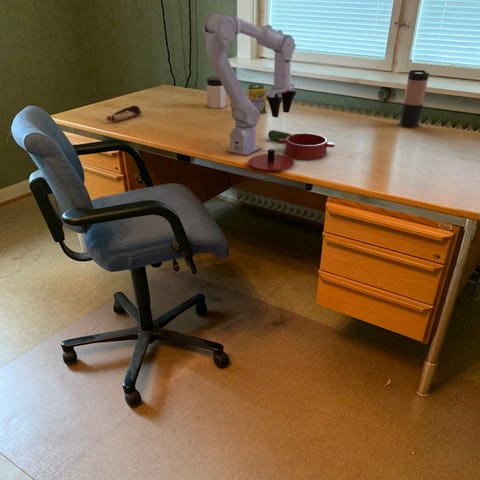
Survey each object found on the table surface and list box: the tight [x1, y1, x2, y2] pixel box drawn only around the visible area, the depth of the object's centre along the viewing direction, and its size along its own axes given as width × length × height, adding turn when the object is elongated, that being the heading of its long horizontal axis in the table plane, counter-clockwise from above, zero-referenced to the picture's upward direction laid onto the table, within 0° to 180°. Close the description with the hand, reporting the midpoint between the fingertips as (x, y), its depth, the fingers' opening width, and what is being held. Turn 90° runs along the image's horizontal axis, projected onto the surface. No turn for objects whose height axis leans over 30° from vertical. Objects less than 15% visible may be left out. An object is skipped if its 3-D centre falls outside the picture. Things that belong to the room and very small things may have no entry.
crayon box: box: [248, 83, 267, 114], centre depth 216 cm, size 7×3×12 cm, turn 105°
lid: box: [247, 148, 295, 172], centre depth 165 cm, size 15×15×5 cm
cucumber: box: [267, 129, 292, 142], centre depth 186 cm, size 10×3×3 cm, turn 55°
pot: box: [277, 132, 336, 161], centre depth 174 cm, size 14×20×5 cm
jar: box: [205, 75, 227, 109], centre depth 226 cm, size 9×8×12 cm
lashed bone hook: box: [106, 104, 142, 122], centre depth 212 cm, size 9×5×18 cm
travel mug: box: [399, 69, 430, 129], centre depth 197 cm, size 8×8×20 cm
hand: (280, 114), depth 179 cm, fingers open, 7 cm apart
